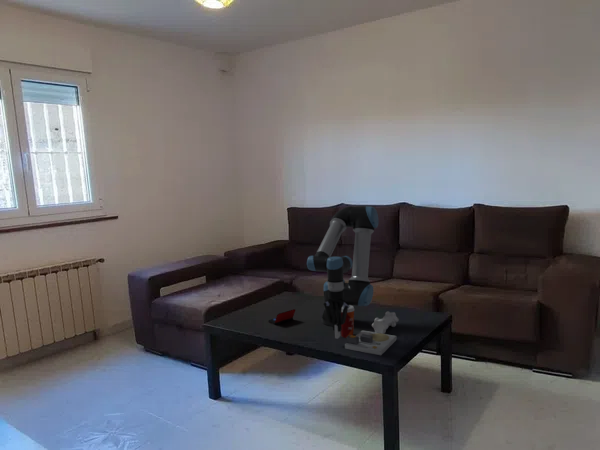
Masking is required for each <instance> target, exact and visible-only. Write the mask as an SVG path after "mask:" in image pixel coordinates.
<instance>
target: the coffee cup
mask: <svg viewBox="0 0 600 450" xmlns="http://www.w3.org/2000/svg"><path fill="white" fill-rule="evenodd" d="M343 307H344V306H342V310H341V315H342V313H343V309H344V308H343ZM354 322H355V308H354V305H349V308H348V310H347V315H346V321H345V323H344V324H343V325H341V327H342V330H341V331H340V337H342V338H344V339H347V338H346V337H347V336H349V335H353V336H354V328H355V326H354V324H355V323H354Z"/></svg>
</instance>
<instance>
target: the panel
mask: <svg viewBox="0 0 600 450" xmlns="http://www.w3.org/2000/svg"><path fill="white" fill-rule="evenodd" d="M355 336H358V337H359V343H358V344H357V345H355V344H349V343H347V342H345V343H344V349H345V350H351V351H355V352H356V351H357V352H362V353H366V354H370V355H377V356H382V355H383V354H384V353H385V352H386V351H387V350H388V349H389V348H390V347H391V346H392V345H393V344H394V343H395V342H396V341H397V335H394V334H393V335H391V334H387V333H385V334H381V333H375V331H368V330H361V331H359V332H358V333H357V334H356V335H355Z"/></svg>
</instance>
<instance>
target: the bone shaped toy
mask: <svg viewBox="0 0 600 450" xmlns="http://www.w3.org/2000/svg"><path fill="white" fill-rule="evenodd" d="M399 320H400V319H399V317H397V315H396V312H395V311H391V312H390V311H389V310H388V311H387V310H386V312H384V315H383V317H382V318H379V317H375V318H374V322H372V324H371V327H372V328H373V330H374V332H375V333H381V334H386V331H387V330H388V328H389V327H390V326H391V327H392V328H395V327H396V326H397V323H398V322H399Z"/></svg>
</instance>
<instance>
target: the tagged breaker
mask: <svg viewBox="0 0 600 450" xmlns="http://www.w3.org/2000/svg"><path fill="white" fill-rule="evenodd" d="M345 339H346V343H349V344H355V345H357V344H358V343H359V337H358V336H356V335H354V334H353V335H349V336H347V337H346V338H345Z"/></svg>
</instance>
